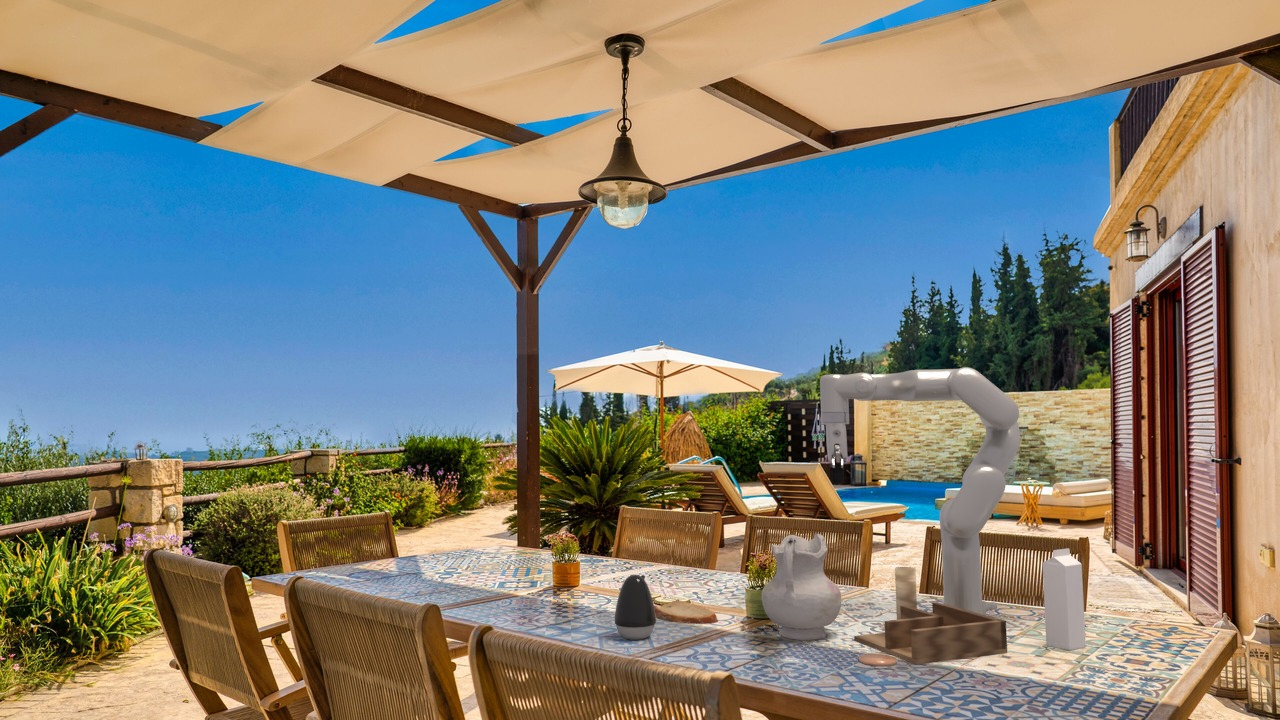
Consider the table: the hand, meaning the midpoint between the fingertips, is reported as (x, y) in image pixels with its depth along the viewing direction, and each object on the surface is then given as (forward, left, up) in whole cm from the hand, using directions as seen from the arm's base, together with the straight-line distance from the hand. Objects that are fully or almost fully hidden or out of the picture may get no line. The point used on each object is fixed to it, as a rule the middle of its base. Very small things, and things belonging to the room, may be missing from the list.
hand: (837, 481), depth 242 cm
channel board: (0, +37, -36) cm, 51 cm away
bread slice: (+39, -16, -36) cm, 56 cm away
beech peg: (-6, +20, -36) cm, 42 cm away
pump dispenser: (+60, +1, -36) cm, 70 cm away
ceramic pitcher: (+22, +16, -36) cm, 45 cm away
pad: (+19, +43, -36) cm, 59 cm away
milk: (-28, +49, -36) cm, 67 cm away
